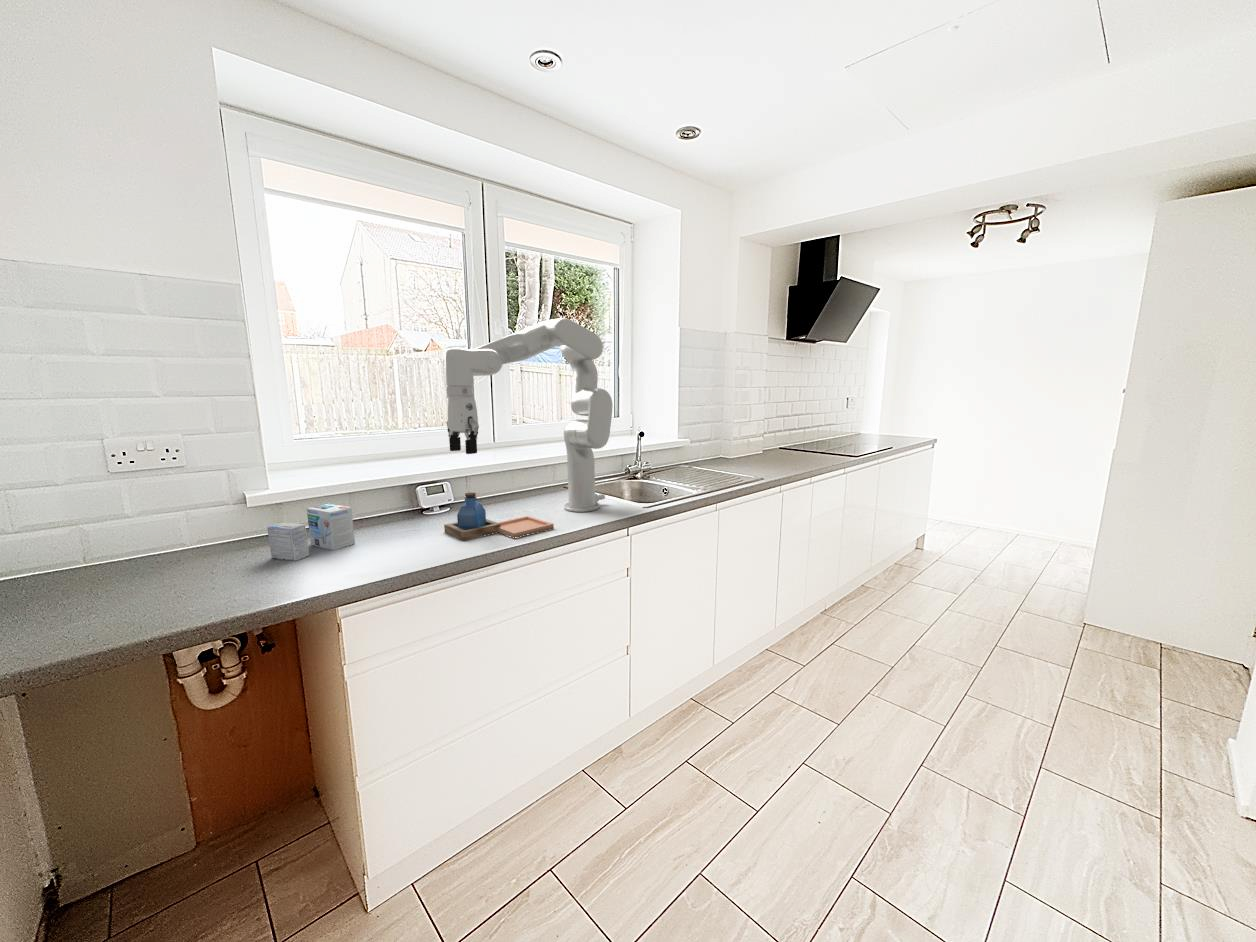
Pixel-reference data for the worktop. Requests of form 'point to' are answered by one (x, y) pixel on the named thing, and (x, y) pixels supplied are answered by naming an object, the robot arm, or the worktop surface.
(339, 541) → the light bulb box
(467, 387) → the robot arm
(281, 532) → the medicine box
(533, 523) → the dish
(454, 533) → the socket block
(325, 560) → the worktop surface
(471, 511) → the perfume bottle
